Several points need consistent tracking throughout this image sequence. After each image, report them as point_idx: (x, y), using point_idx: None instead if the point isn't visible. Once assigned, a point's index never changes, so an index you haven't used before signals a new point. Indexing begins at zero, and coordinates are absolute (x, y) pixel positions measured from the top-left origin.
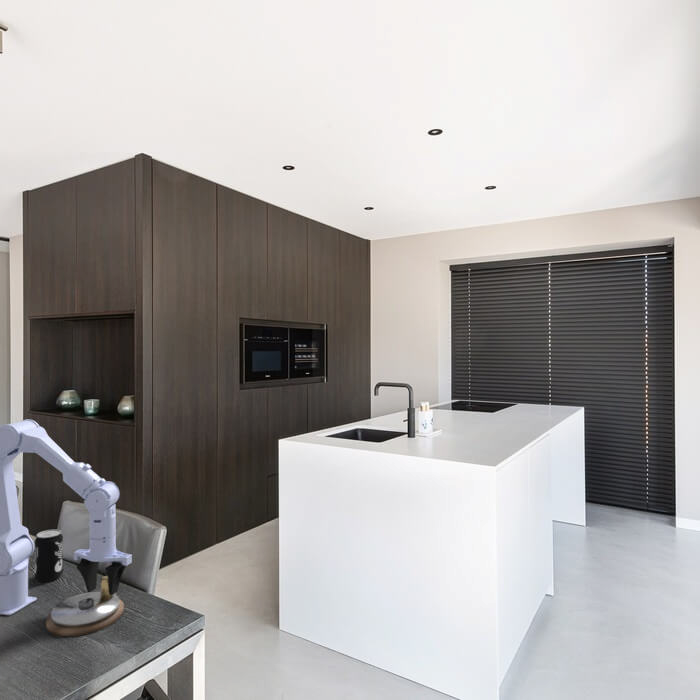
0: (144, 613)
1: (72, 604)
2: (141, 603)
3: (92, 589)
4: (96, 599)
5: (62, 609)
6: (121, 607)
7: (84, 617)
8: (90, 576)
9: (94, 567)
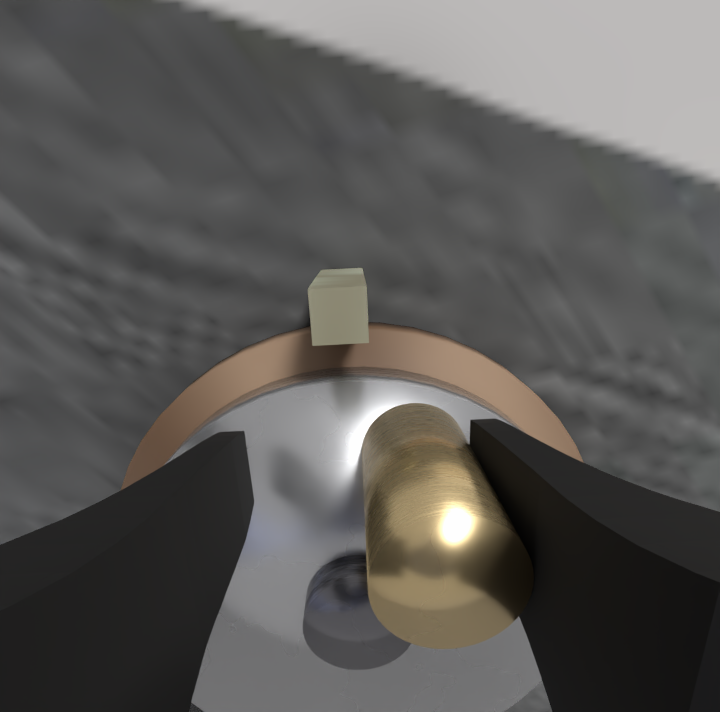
0: (715, 406)
1: (244, 609)
2: (625, 291)
3: (248, 479)
4: (360, 508)
5: (238, 670)
6: (558, 449)
7: (464, 700)
8: (193, 614)
9: (125, 635)
